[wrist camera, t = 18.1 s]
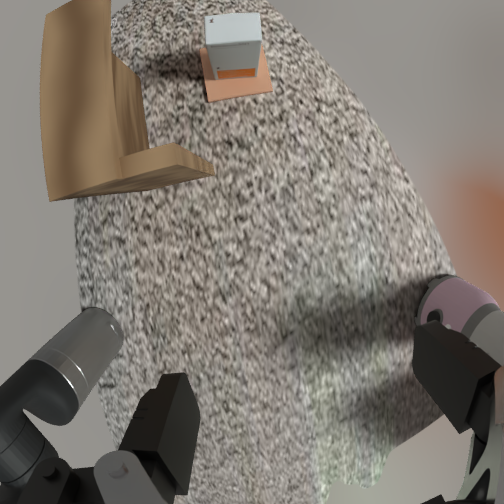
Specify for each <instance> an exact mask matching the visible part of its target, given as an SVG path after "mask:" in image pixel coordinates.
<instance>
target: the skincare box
mask: <svg viewBox="0 0 504 504" xmlns="http://www.w3.org/2000/svg"><path fill="white" fill-rule="evenodd" d="M204 29H205V45H206V49H207V53H208V56H209V60H210V63H211V67H212V70H213V74H214V77H215V80H220V79H230V78H246V77H257V74H258V66H259V58H260V52H261V44H262V33H261V21H260V13H228V14H222V15H212V16H205V17H204Z"/></svg>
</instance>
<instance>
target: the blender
mask: <svg viewBox="0 0 504 504" xmlns="http://www.w3.org/2000/svg"><path fill="white" fill-rule="evenodd" d="M427 286H428V287H429V289H428V290H427V292H426V293H425V295H424V296H423V298H422V300H421V303H420V306H419V309H418V314H417V316H415V323H416V326H419V325H422V324H425V323H428V322H431V321H433V320H437V321H439V322H440V323H441V324H443V325H444V326H445V327H446V328H447V329H452V330H455V331H457V332H460V333H462V334H464V335H465V336H466V337H467V338H469V339H470V341H471V342H474V343H475V344H476V345H477V347H480V348H481V349H482V350H483V351H485V352H486V353H487V354H488V355H489V356H491V357H492V358H493V359H494V360H495V361H496V362H498V363H499V364H500V365H501V366H504V312H503V311H501V310H500V308H499V306H498V304H497V303H496V301H495V300H494V298H493V297H492V296H491V295H490V294H488V293H487V292H485V291H483V290H481V289H480V288H478V287H476V286H474V285H472V284H470V283H468V282H466V281H464V280H463V279H461V278H459V277H457V276H454V275H449V276H445V277H442V278H440V279H437V278H435V279H433V280H432V281H431V282H429V284H428V285H427Z"/></svg>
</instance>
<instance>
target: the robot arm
mask: <svg viewBox="0 0 504 504" xmlns="http://www.w3.org/2000/svg"><path fill="white" fill-rule="evenodd" d="M122 345H123V333H122V329H121V327H120V325H119V324H118V322H117V321H116V319H115V318H114V317H113V316H112V315H110V314H109V313H108V312H106V311H104V310H102V309H99V308H88V309H86V310H84V311H83V312H82V313H80V314H79V315H78V316H77V317H76V318H74V319H73V320H72V321H71V322H70V323H69V324H67V325H66V326H65V327H64V328H63V329H62V330H61V331H59V332H58V333H57V334H56V335H55V336H54V337H53V338H52V339H50V340H49V341H48V342H47V343H46V344H45V345H44V346H43V347H42V348H41V349H40V350H38V351H37V353H35V354H34V355H33V356H32V357H31V358H30V359H29V360H28V361H27V362H26V363H25V364H24V365H23V366H21V367H20V369H18V370H17V371H16V372H15V373H14V374H13V375H12V376H11V377H10V378H9V379H8V380H7V381H6V382H4V383H3V384H2V385H1V386H0V482H1V485H0V504H173V503H174V498H175V495H188V489H189V483H190V477H191V471H192V465H193V459H194V453H195V448H196V442H197V436H198V431H199V425H200V411H199V407H198V404H197V401H196V399H195V396H194V393H193V391H192V388H191V385H190V383H189V380H188V377H187V375H186V374H185V373H171V374H163V375H162V376H161V378H160V380H159V383H158V385H157V388H156V389H150V390H149V391H148V392H147V393H146V394H145V395H144V396H143V397H142V398H141V399H140V401H139V403H138V406H137V408H136V411H135V412H134V414H133V417H132V418H133V419H131V421H130V423H129V426H128V428H127V430H126V433H125V435H124V437H123V439H122V442H121V444H120V446H119V449H118V451H113V452H109V453H107V454H105V455H104V456H102V457H101V458H100V459H99V460H98V461H97V463H96V464H95V466H94V467H88V468H79V469H78V468H77V469H72V468H71V467H70V466H69V465H68V463H67V462H66V461H65V460H63V459H61V458H59V456H58V453H57V451H56V450H55V448H54V447H53V446H52V445H51V444H50V442H49V441H48V440H47V439H46V438H45V437H44V436H43V435H42V433H41V432H40V431H39V430H38V429H37V428H36V427H35V425H34V424H33V423H32V422H31V421H30V420H29V418H28V417H27V416H26V415H25V414H24V412H23V409H25V410H27V411H29V412H30V413H32V414H33V415H35V416H36V417H38V418H40V419H41V420H43V421H45V422H47V423H50V424H52V425H58V426H62V425H66V424H68V423H69V422H70V421H71V420H72V419H73V418H74V416H75V415H76V413H77V411H78V410H79V409H80V407H81V405H82V404H83V402H84V401H85V399H86V398H87V396H88V395H89V393H90V392H91V390H92V388H93V387H94V386H95V385H96V383H97V382H98V380H99V379H100V377H101V376H102V374H103V373H104V372H105V370H106V369H107V367H108V366H109V364H110V363H111V362H112V360H113V359H114V357H115V356H116V355H117V353H118V352H119V350H120V349H121V347H122ZM412 367H413V371H414V374H415V376H416V378H417V379H418V380H419V382H420V383H421V384H422V385H423V387H424V388H425V389H426V391H427V392H428V393H429V394H430V396H431V397H432V398H433V400H434V401H435V402H436V404H437V405H438V406H439V407H440V409H441V410H442V411H443V413H444V414H445V415H446V417H447V418H448V419H449V421H450V422H451V423H452V425H453V426H454V427H455V429H456V430H457V431H458V433H459V434H460V433H462V432H464V431H466V430H468V429H469V428H472V430H473V431H474V432H473V434H472V437H471V443H470V450H469V456H468V462H467V467H466V473H465V477H464V482H463V485H462V487H461V489H460V491H459V494H458V496H457V498H456V500H453V501H447V502H445V501H444V499H443V497H442V495H439V496H437V497H435V498H432V499H430V500H428V501H426V502H424V503H422V504H504V366H501V365H500V364H499V363H498V362H496V361H495V360H494V359H493V358H492V357H491V356H489V355H488V354H487V353H486V352H485V351H483V350H482V349H481V348H480V347H477V345H476V344H475V343H474V342H471V341H470V339H469V338H467V337H466V336H465V335H464V334H462V333H460V332H457V331H455V330H452V329H447V328H446V327H445V326H444V325H443V324H441V323H440V322H439V321H437V320H433V321H431V322H428V323H425V324H422V325H419V326H417V327H416V329H415V337H414V349H413V359H412Z"/></svg>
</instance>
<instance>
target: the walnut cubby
mask: <svg viewBox="0 0 504 504" xmlns="http://www.w3.org/2000/svg"><path fill="white" fill-rule="evenodd" d="M40 117H41V118H40V119H41V138H42V149H43V159H44V168H45V176H46V182H47V189H48V195H49V201H50V202H51V201H58V200H65V199H73V198H81V197H89V196H98V195H107V194H117V193H128V192H139V191H148V190H152V189H156V188H160V187H165V186H169V185H173V184H177V183H182V182H186V181H190V180H195V179H199V178H204V177H209V176H214V175H215V174H214V168H213V165H212V164H211V163H209V162H207V161H206V160H204V159H202V158H200V157H199V156H197V155H195V154H193V153H192V152H190V151H188V150H186V149H185V148H183V147H181V146H179V145H178V144H176V143H170V144H166V145H162V146H158V147H155V148H151V149H150V148H149V142H148V135H147V129H146V122H145V114H144V107H143V99H142V91H141V82H140V78H139V77H138V76H137V75H136V74H135V73H134V72H133V71H132V70H131V69H130V68H128V67H127V66H126V65H125V64H124V63H123V62H122V61H121V60H120V59H119V58H118V57H116V56H115V55H114V54H113V53H112V52H111V0H72V1H70V2H68V3H66V4H64V5H62V6H61V7H59V8H57V9H55V10H54V11H52V12H50V13H48V14H47V15H46V18H45V26H44V34H43V43H42V54H41V71H40Z"/></svg>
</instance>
